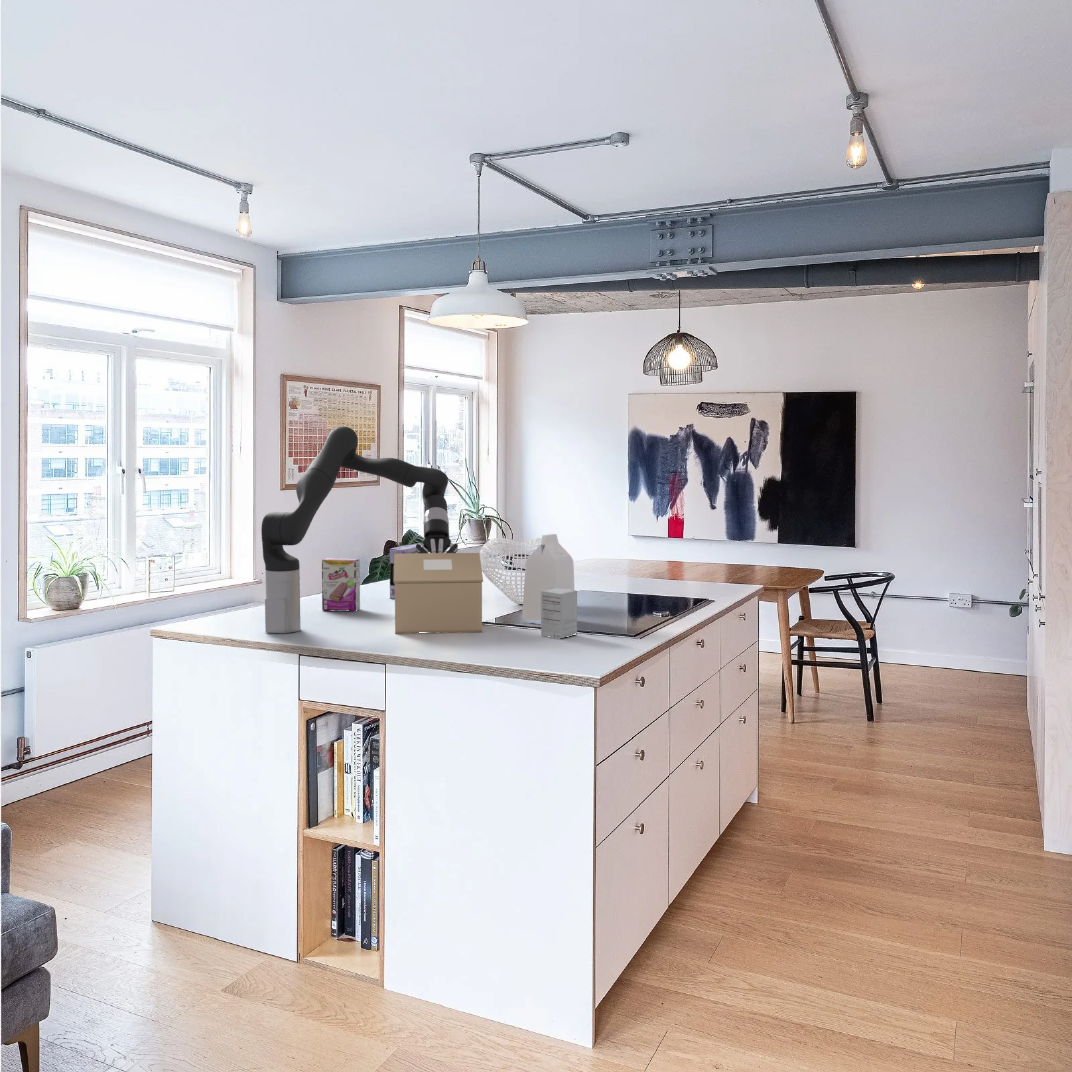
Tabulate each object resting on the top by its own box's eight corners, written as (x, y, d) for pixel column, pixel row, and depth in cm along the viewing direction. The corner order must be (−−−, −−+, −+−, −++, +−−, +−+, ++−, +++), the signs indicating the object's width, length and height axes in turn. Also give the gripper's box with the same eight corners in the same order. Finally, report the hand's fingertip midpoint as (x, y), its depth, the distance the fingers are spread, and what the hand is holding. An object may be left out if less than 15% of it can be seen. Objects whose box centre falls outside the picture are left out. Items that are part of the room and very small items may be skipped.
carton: (482, 632, 266) (482, 582, 264) (395, 633, 263) (394, 583, 261) (478, 622, 281) (478, 575, 280) (396, 623, 278) (395, 576, 277)
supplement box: (556, 632, 266) (556, 587, 265) (577, 635, 262) (578, 590, 260) (540, 636, 261) (540, 590, 259) (561, 639, 256) (561, 593, 255)
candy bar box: (321, 611, 299) (320, 559, 298) (326, 608, 304) (325, 557, 303) (356, 612, 298) (355, 560, 297) (360, 609, 303) (360, 558, 302)
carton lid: (483, 581, 264) (483, 579, 264) (393, 583, 261) (393, 580, 261) (479, 554, 279) (479, 552, 278) (394, 555, 275) (394, 553, 275)
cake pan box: (399, 600, 322) (398, 548, 321) (386, 599, 324) (386, 547, 323) (429, 593, 339) (429, 543, 338) (417, 592, 342) (417, 543, 340)
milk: (542, 616, 291) (543, 532, 289) (575, 620, 286) (576, 534, 283) (521, 622, 281) (522, 535, 279) (555, 626, 275) (556, 537, 273)
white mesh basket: (477, 608, 306) (477, 539, 304) (480, 601, 321) (480, 535, 319) (564, 609, 306) (565, 540, 304) (563, 601, 321) (563, 536, 319)
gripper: (457, 533, 290) (459, 579, 279) (414, 534, 288) (414, 579, 277) (458, 517, 284) (460, 563, 273) (414, 517, 283) (414, 563, 272)
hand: (437, 571), depth 275 cm, fingers closed
